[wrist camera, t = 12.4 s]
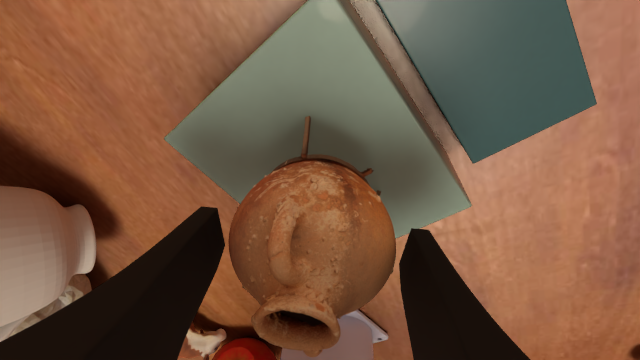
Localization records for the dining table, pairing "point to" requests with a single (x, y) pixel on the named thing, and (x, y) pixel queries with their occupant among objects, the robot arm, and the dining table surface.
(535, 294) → the dining table surface
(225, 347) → the apple
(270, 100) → the stand
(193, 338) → the bull figurine
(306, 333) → the pot
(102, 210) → the dining table surface
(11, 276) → the teacup
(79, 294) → the stone
